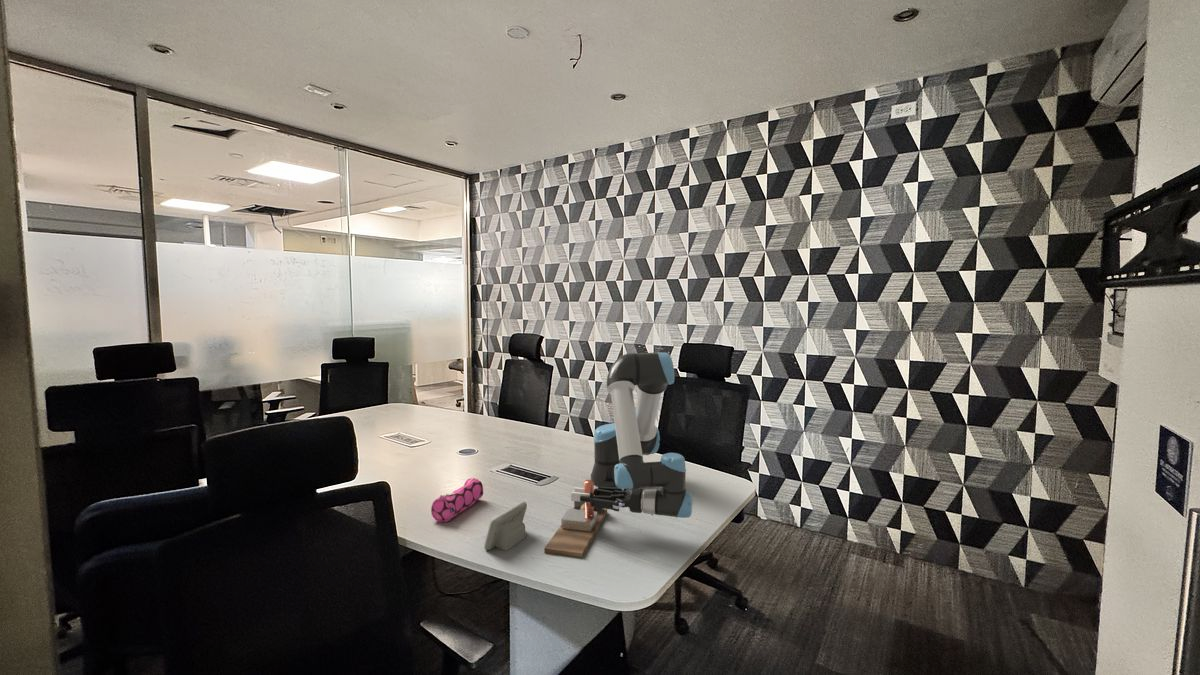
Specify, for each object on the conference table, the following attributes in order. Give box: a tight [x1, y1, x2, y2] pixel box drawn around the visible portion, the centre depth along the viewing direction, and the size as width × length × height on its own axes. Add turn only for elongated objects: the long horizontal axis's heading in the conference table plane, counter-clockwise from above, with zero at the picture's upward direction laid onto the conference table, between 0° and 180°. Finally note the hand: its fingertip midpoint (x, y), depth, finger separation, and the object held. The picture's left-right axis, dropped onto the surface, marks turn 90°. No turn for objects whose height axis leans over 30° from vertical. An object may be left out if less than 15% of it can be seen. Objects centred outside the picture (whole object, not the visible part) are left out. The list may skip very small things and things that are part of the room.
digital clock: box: [483, 501, 528, 551], centre depth 151 cm, size 16×9×11 cm, turn 138°
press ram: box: [560, 479, 597, 532], centre depth 158 cm, size 8×10×15 cm
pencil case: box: [430, 477, 484, 523], centre depth 174 cm, size 21×10×10 cm, turn 162°
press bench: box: [543, 501, 608, 559], centre depth 157 cm, size 30×12×6 cm, turn 165°
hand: (573, 493), depth 158 cm, fingers closed on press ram, 3 cm apart
